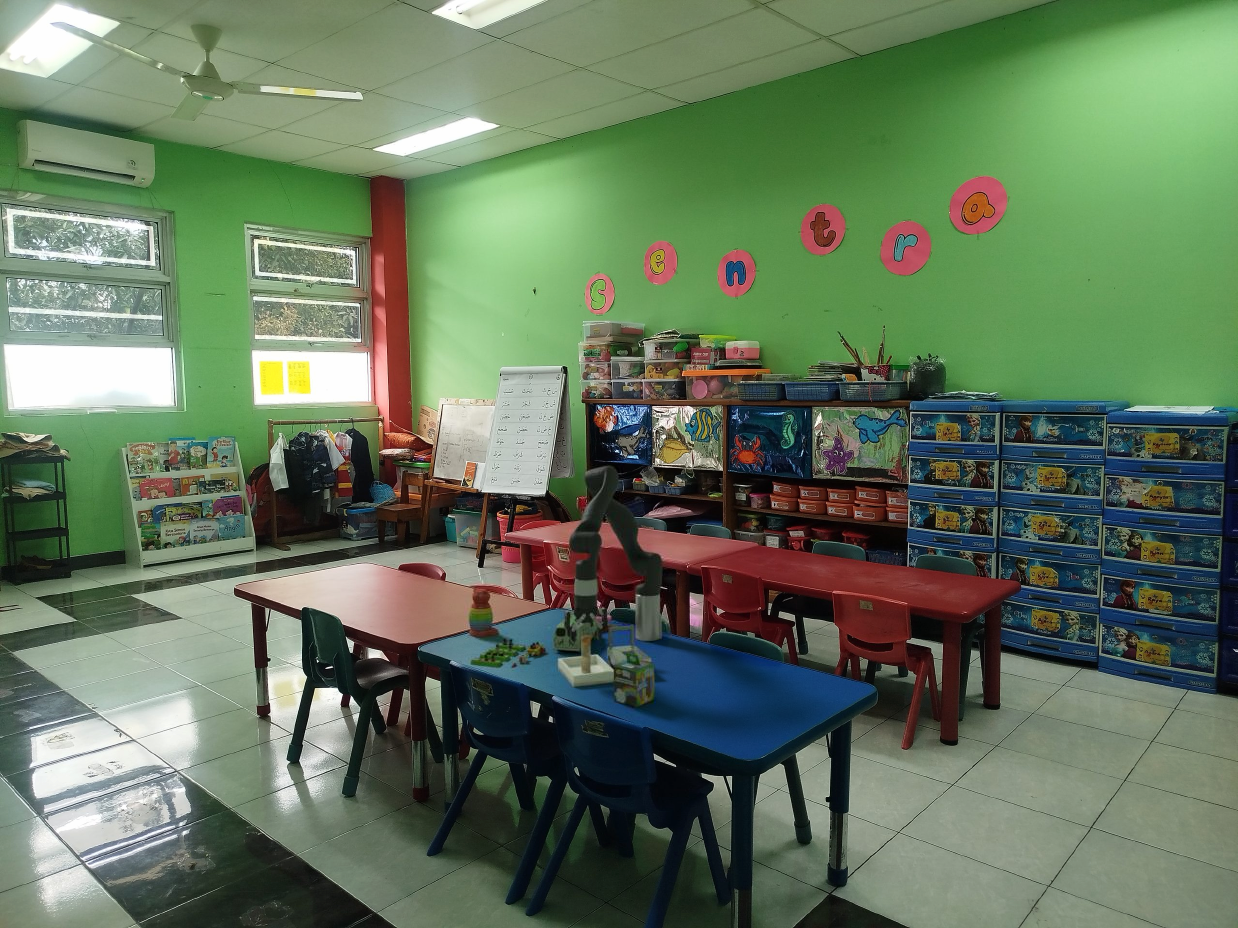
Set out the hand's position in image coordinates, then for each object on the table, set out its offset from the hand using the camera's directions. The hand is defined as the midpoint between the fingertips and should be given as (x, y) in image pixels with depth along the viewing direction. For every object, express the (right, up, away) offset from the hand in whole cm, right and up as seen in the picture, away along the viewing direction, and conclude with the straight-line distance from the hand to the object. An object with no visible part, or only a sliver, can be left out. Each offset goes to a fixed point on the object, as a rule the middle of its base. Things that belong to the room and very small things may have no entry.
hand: (586, 640), depth 274 cm
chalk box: (+15, -14, -22) cm, 30 cm away
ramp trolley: (+14, -11, +6) cm, 19 cm away
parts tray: (0, -12, +1) cm, 12 cm away
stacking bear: (-43, -8, +50) cm, 67 cm away
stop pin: (0, -11, +1) cm, 11 cm away
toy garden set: (-28, -11, +20) cm, 36 cm away
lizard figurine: (+1, -8, +57) cm, 58 cm away
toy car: (-5, -10, +36) cm, 38 cm away
